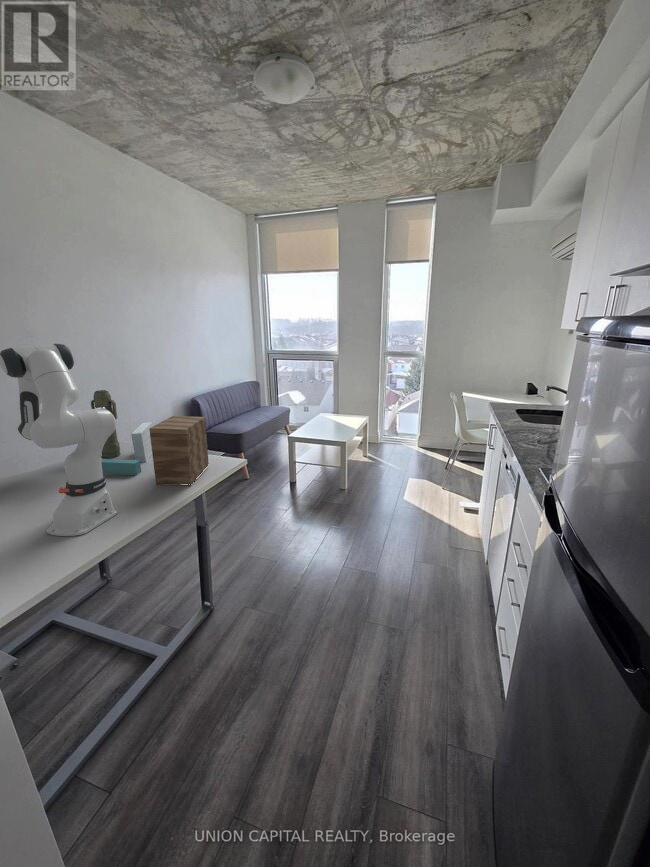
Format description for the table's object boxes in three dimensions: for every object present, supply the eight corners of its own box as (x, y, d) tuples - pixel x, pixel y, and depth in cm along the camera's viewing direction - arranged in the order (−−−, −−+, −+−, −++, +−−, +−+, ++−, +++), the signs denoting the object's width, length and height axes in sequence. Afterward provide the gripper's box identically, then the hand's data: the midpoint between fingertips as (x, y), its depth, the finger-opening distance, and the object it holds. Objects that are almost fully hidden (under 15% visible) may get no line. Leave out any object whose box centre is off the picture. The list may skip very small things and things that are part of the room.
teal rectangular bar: (136, 475, 170) (135, 463, 169) (87, 473, 171) (84, 461, 169) (141, 472, 174) (139, 460, 173) (92, 470, 175) (90, 458, 173)
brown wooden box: (191, 485, 161) (186, 429, 153) (156, 484, 161) (149, 428, 154) (208, 467, 182) (205, 417, 174) (177, 466, 182) (172, 415, 175)
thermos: (119, 458, 191) (110, 392, 181) (95, 458, 190) (84, 392, 179) (126, 452, 199) (117, 389, 189) (103, 452, 198) (93, 389, 188)
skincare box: (146, 449, 205) (142, 422, 201) (156, 449, 206) (153, 422, 202) (134, 462, 185) (130, 433, 181) (146, 462, 186) (142, 432, 182)
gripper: (50, 418, 156) (76, 408, 154) (85, 410, 176) (109, 400, 174) (57, 432, 157) (83, 422, 155) (91, 422, 177) (115, 413, 175)
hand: (97, 410), depth 164 cm, fingers open, 8 cm apart
